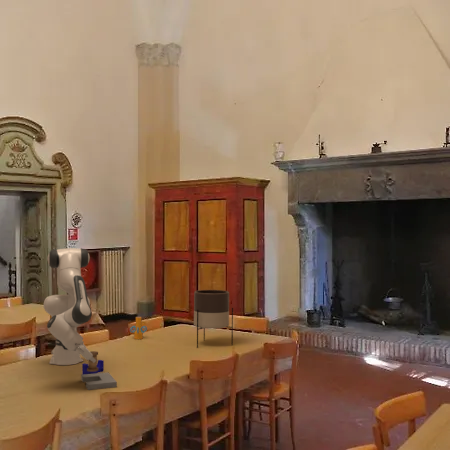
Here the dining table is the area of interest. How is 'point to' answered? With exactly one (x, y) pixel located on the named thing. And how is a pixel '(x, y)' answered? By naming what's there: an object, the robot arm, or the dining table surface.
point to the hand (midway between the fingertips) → (94, 360)
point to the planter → (211, 310)
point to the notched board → (98, 381)
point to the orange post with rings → (138, 329)
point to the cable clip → (100, 369)
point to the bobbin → (92, 365)
